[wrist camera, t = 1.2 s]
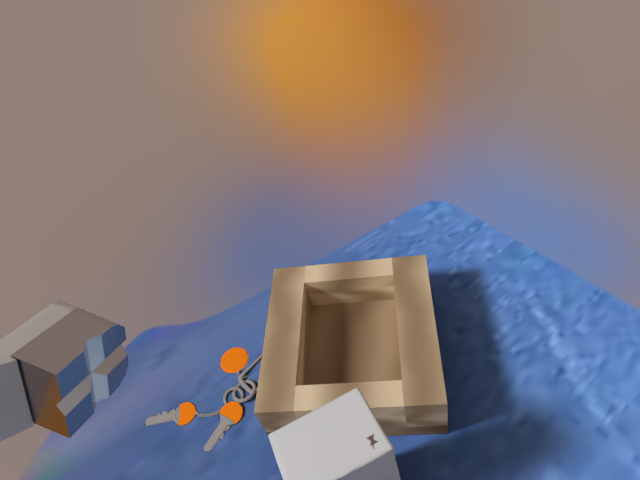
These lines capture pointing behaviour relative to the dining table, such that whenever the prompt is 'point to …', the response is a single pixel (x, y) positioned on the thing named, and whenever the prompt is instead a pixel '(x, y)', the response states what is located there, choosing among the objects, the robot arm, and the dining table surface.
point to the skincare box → (335, 444)
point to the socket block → (354, 344)
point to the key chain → (230, 411)
